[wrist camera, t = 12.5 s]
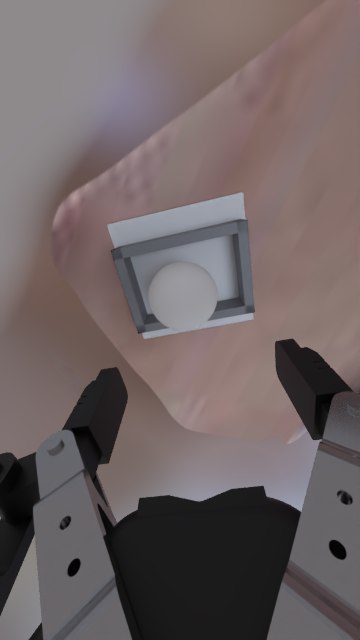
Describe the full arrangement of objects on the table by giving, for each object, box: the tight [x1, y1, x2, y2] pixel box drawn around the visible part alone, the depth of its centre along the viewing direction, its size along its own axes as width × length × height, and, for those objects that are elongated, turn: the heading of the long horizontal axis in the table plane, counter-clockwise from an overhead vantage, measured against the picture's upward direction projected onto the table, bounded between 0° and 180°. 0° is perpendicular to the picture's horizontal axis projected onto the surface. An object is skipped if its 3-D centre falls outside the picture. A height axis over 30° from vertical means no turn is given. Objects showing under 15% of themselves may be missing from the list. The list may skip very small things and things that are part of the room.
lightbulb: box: [149, 261, 218, 331], centre depth 23 cm, size 6×6×11 cm
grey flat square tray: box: [107, 192, 255, 339], centre depth 26 cm, size 15×15×3 cm
